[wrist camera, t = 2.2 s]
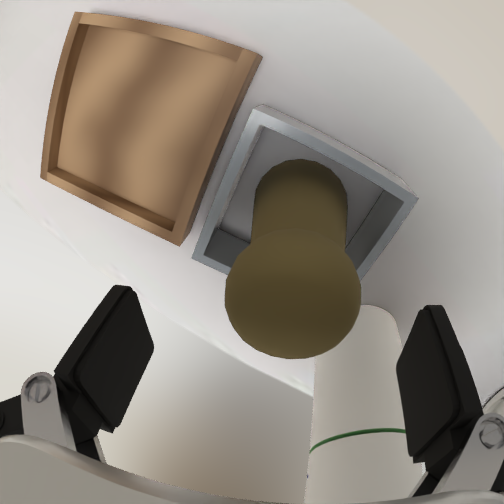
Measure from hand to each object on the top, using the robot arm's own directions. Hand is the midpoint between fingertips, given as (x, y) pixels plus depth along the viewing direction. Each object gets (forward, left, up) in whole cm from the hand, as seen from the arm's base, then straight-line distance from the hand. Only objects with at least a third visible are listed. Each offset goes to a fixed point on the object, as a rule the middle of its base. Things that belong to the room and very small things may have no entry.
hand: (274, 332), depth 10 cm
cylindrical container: (-10, +8, -12) cm, 18 cm away
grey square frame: (-1, 0, -12) cm, 12 cm away
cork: (-1, 0, -12) cm, 12 cm away
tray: (+12, -1, -12) cm, 17 cm away
